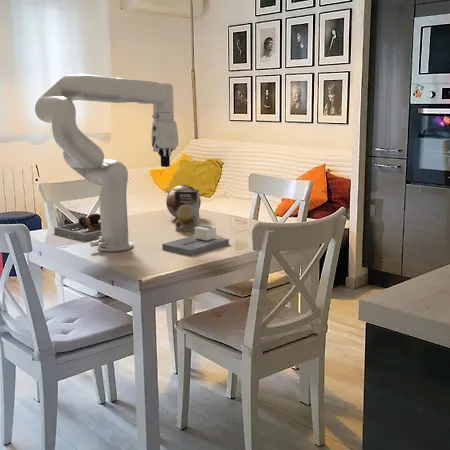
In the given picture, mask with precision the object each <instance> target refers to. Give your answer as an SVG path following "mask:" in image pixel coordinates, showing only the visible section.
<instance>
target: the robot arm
mask: <svg viewBox="0 0 450 450" xmlns="http://www.w3.org/2000/svg"><path fill="white" fill-rule="evenodd" d="M74 101H83V102H84V101H88V102H100V103H110V104H112V103H114V104H115V103H116V104H123V103H125V104H126V103H137V104H142V105H151V104H152V108H153V109H152V111H153V114H152V115H151V118H153V121H152V125H151V136H150V137H151V147H152V148H153V149H152V151H153V152H155V153H157V154H158V156H159V157H160V166H161V167H162V168H163V167H164V168H169V167H170V166H171V160H170V159H171V155H172V152H174V151H175V150H177V148H178V146H179V132H178V126H177V121H176V120H175V113H174V110H175V109H174V107H175V106H174V86H173V85H172V83H168V82H158V81H151V80H150V81H149V80H140V79H139V80H138V79H130V78H122V77H115V76H113V77H112V76H106V75H105V76H104V75H103V76H102V75H95V74H94V75H93V74H86V73H77V74H66V75H64V76H63V77H61V78H60V79H59V80H57V82H55V84H53V85H52V86H51V87H49V89H48V90H46V91H45V92H44V93H43V94H42V95H41V96H40V97H39V99H37V101H36V103H35V106H34V113H35V115H36V116H37V118H38V120H40V121H42V122H44V123H49V124H51V129H52V136H53V139H54V142H55V143H56V144H57V145H58V147H59V148H61V149H62V150H63V151H62V155H63V159H64V162H65V163H66V164H67V166H69V168H71V169H72V170H74V171H75V172H76V173H77V174H79V176H81V177H82V178H84V179H85V180H86V181H88V182H90V183H91V184H94V185H99V186H101V188H100V192H99V196H98V197H99V200H98V204H99V214H100V219H99V222H101V236H100V237H99V238H97V240H92V241H91V242H90V243H89V244H90V247H91V248H94V247H97V249H98V250H99V251H101V252H108V253H109V252H110V253H111V252H113V253H114V252H123V251H127V250H130V249H132V248H133V247H134V243H133V242H132V241H129V225H128V205H127V202H128V201H127V200H128V199H127V190H128V189H127V187H128V186H127V185H128V179H129V172H128V169H127V167H126V165H125V164H124V163H122V161H120V160H116V159H109V158H105V154H104V152H103V150H102V148H101V147H100V146H99V145H98V144H96V142H94V141H93V140H92V139H90V138H89V137H88V136H87V135H86V134H85V133H84V132H83V131H82V130H80V129H79V127H78V125H77V120H76V119H77V112H76V111H77V110H76V106H75V104H74Z"/></svg>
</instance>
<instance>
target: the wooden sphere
mask: <svg viewBox="0 0 450 450" xmlns="http://www.w3.org/2000/svg"><path fill="white" fill-rule="evenodd" d="M177 189H186V190H196V188H194V187H193V186H191V185H188V184H187V185H186V184H179V185H176V186H175V187H173V188H172V189H170V191H169V193H168V194H167V196H166V199H165V200H166V203H165V204H166V208H167V211H168V212H169V213H170V215H171V216H173V217H175V192H176V190H177ZM201 203H202V202H201V196H200V195H199V209H200V207H201Z"/></svg>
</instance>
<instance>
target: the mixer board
mask: <svg viewBox="0 0 450 450" xmlns="http://www.w3.org/2000/svg"><path fill="white" fill-rule="evenodd" d="M228 245H230V239H229V238H225V237H219V236H216V238H214V239H211V240H202V239H197V238H195V234H194V235H190V236H186V237H183V238H179V239H176V240H172V241H168V242H164V243H162V244H161V247H162V248H161V249H162V251H163V250H164V251H169V252H172V253H178V254H180V255H186V256H188V257H189V256H190V257H192V256H196V255H198V254H201V253H205V252H209V251H212V250H215V249H218V248H222V247H225V246H228Z"/></svg>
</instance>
